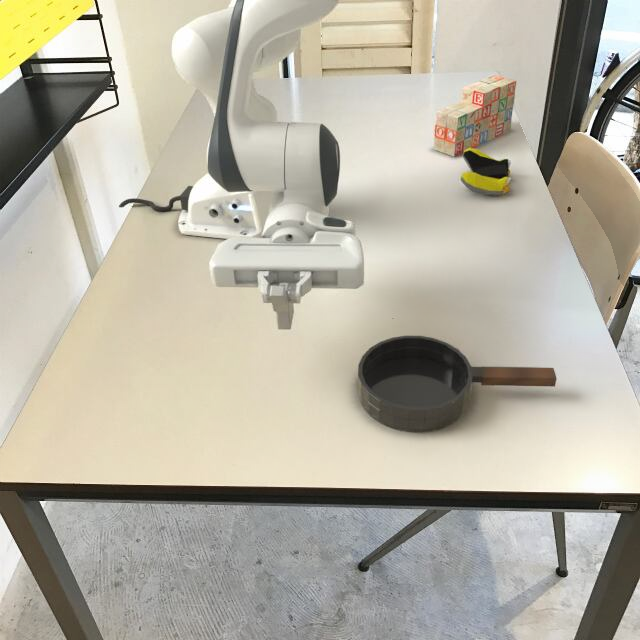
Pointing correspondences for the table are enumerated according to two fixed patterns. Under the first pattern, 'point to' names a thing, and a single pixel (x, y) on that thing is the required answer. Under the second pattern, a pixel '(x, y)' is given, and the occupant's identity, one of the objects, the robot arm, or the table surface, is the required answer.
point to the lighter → (282, 305)
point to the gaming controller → (486, 173)
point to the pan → (414, 383)
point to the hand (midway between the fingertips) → (281, 298)
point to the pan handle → (514, 376)
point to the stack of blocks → (475, 116)
